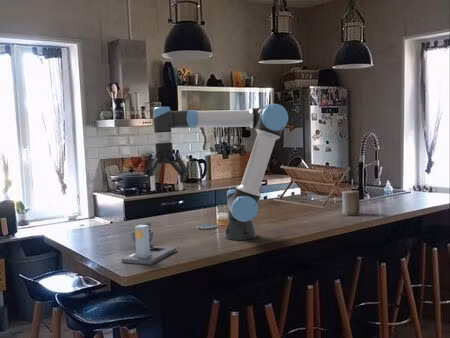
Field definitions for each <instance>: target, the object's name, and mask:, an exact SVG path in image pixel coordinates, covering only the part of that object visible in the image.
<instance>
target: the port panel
mask: <svg viewBox="0 0 450 338" xmlns="http://www.w3.org/2000/svg"><path fill="white" fill-rule="evenodd" d="M175 252H177V247H174V246H172V247H171V246H159V245H158V246H157V245H150V256H149V257H147V258H136V251H135V252H133V253H131V254H129V255H127V256H124V257H123V258H121V263H124V264H135V265H137V264H138V265H149V266H151V265H152V264H153V265H154V264H155V263H156V262H157V263H158V261H160V260H162V259H164V258H166V257H168V256H170V255H172V254H174V253H175Z"/></svg>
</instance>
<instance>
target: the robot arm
mask: <svg viewBox="0 0 450 338" xmlns="http://www.w3.org/2000/svg"><path fill="white" fill-rule="evenodd" d="M152 112H153V113H152V116H153V129H154V131H153V132H154V142H155V145H154V147H155V153H150V154H149V155H148V158H149V159H148V162H147V164H146V167H145V169H144V172H143V175H145V176H147V177H148V178H147V179H148V183H149V184H150V192H154V191H156V181H155V175H154V174H155V172H156V170H157V169H158V168H159V166H160V165H161V164H169V165H171V166H172V167H173V169H174V170H175V171H176V172H177V174H179V175H177V179H178V180H177V181H178V191H182V190H184V186H183V183H184V182H185V174H188V173H189V171H188V169H187V167H186V165H185V163H184V161H183V160H182V158H181V154H180V152H175V153H174V152H173V150H174V148H173V147H174V146H173V134H172V133H173V132H172V129H181V128H182V129H189V128H190V129H191V128H192V129H193V128H194V129H196V128H236V127H237V128H238V127H239V128H241V127H247V128H248V127H249V128H250V129H254V130H255V131H256V134H257V135H256V137H255V140H254V143H253V146H252V149H251V152H250V156H249V159H248V162H247V165H246V167H245V170H244V174H243V177H242V180H241V183H240V185H238V186H236V187H235V189H229V190H227V191H226V197H227V200H226V201H227V223H226V227H225V230H224V238H225V239H227V240H232V241H243V240H246V241H247V240H252V239H255V238H256V237H257V231H256V228H255V224H254V221H253V219H255V217H256V216H257V214H258V210H259V205H258V204H259V202H260V198H261V193H260V188H261V185H262V182H263V180H264V177H265V173H266V170H267V168H268V167H267V166H268V164H269V161H270V159H271V155H272V153H273V149H274V146H275V144H276V141H277V140H279V139H280V138H281V137H282V136H281V135H282V133H283V130H284V128H286V126H287V124H288V122H289V115H288V111H287V110H286V108H285V107H284V106H283V105H281V104H278V103H270V104H267V105H264V106H261V107H260V106H259V107H255V108H254V107H252V108H250V109H249V110H247V109H246V110H209V111H208V110H206V111H205V110H204V111H202V110H201V111H198V110H196V109H186V110H171V107H170V106H158V107H157V106H156V107H154V108H153V110H152ZM155 158H156V160H155ZM174 159H175V160H176V161H175V160H174ZM154 161H155V162H154ZM176 162H177V163H176ZM153 163H154V165H153Z"/></svg>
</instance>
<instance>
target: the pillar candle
mask: <svg viewBox="0 0 450 338" xmlns="http://www.w3.org/2000/svg"><path fill="white" fill-rule="evenodd" d="M341 193H342V194H341V195H342V196H341V198H342V203H341V204H342V205H341V206H342V215H343V214H345V215H344V216H346V215H357V216H359V215H358V214H360V215H361V213H360V191H359V190H353V189H350V190H343V191H342V192H341Z"/></svg>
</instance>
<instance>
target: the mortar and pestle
mask: <svg viewBox="0 0 450 338" xmlns="http://www.w3.org/2000/svg"><path fill="white" fill-rule="evenodd" d="M144 225H149V245H150V246H151V242H152V240H153V237H154V229H151V228H150V227H151V225H152V222H151V221H147V220H146V221H145V222H144ZM131 238H132V240H133V242H134V243H135V230H132V231H131Z"/></svg>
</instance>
